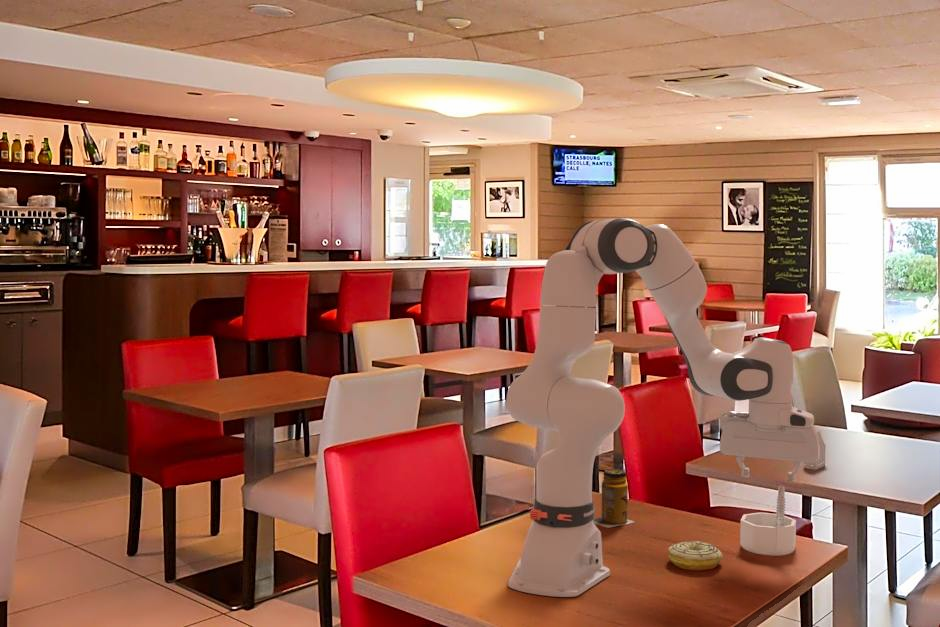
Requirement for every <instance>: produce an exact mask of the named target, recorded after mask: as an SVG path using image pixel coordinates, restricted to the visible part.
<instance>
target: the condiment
mask: <svg viewBox="0 0 940 627" xmlns="http://www.w3.org/2000/svg"><path fill="white" fill-rule="evenodd" d="M602 480H603V481H602V483H601V516H599V517H594V519H593V522H594V524H595V525H598V526H601V527H602V528H603V527H604V528H607V529H609V528H610V529H611V528H613V527H617V526H619V527H620V526H625V525H630V524H633V523H635V521H634V520H631V519H628V506H629V505H628V497H629V496H628V495H629V494H628V490H629V487H628V486H629V485H628V482H627V472H626V471H625V470H623V469H619V468H617V469H616V468H615V469H614V468H613V469H612V468H611V469H606V470H603V479H602Z"/></svg>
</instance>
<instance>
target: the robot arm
mask: <svg viewBox="0 0 940 627" xmlns="http://www.w3.org/2000/svg"><path fill="white" fill-rule="evenodd" d="M634 271H635V272H636V273H637V274H638V276H639V277H640V278H641V279H642V281H643V284H644V285H645V287H646V289H647V290H648V291H649V294H651V296H652V298H653V299H654V301H655V303H656V305H657V306H658V308H659V309H660V311H661V313H662V316H663V318H664V320H665V322H666V324H667V326H668V328H669V330H670V331H671V333H672V336H673V337H674V339H675V342H676V344H677V345H678V347H679V349H680V351H681V353H682V356H683V357H684V359H685V363H686V367H687V375H688V379H689V380H690V383H691V386H692V387H693V388H694V390H696V391H697V392H698V393H700V394H701V395H705V396H709V397H710V396H711V397H719V398H722V399H726V400H731V401H736V402H738V401H740V402H742V401H745V400H747V401H748V411H745V412H742V411H741V412H740V411H737V412H735V411H731V410H730V411H727V412H725V413H722V414H721V416H720V418H719V428H720V430H721V435H720V440H719V441H720V442H719V451H720V452H721V453H722V455H728V456H736V460H735V461H736V463H737V464H738V466H739V468H740V469H741V473H740V474H741V477H742V478H749V477H750V467H746V465H745V463H744V460H745V457H750V458H759V459H760V458H761V459H771V460H780V461H781V460H784V461H793V466H794V467H795V468H794V469H793V471H788V472H787V482H793V483H795V482H796V479H797V478H796V474H797V473H798V471H799V470H800V468H801V466H802V463H804V462H813V463H814V462H816V461H817V460H818V459H819V456H820V448H819V438H818V433H817V432H818V430H817V428H816V427H815V426H814V423H815V416H814V415H813V413H810V412H808V411H806V410H802V409H800V408H797V407H795V406H793V395H792V386H793V383H794V358H793V350H792V348H791V346H790V344H788V343H787V342H786V341H783V340H778V339H773V338H768V337H762V336H761V337H756V338H754V339H753V341H752V342H750V343H748V345H746V346H745V347H743V348H742V349H740V350H737V351H734V352H733V353H730V352H725V351H723V350H721V349H719V348H717V347H716V346H714V344H712V343H711V341H710V339H709V337H708V335H707V333H706V331H705V330H704V328H703V325H702V323H701V321H700V319H699V318H698V314H697V309H698V308H699V307H700V306H701V305H702V304H703V302H704V300H705V298H706V295H707V292H708V286H707V282H706V279H705V276H704V275H703V274H704V273H703V272H702V270H701V268H700V267H699V265H698V263H697V262H696V260H695V259H694V257H693V255H692V254H691V253H690V250H688V248H687V247H686V245H685V244H684V242H682V240H681V239H680V238H679V237H678V235H677V234H676V233H675V231H673V230H672V229H671V228H670V227H669V226H667V225H665V224H663V223H662V224H661V223H655V224H649V225H646V226H644V225H643V224H641V223H640V222H639V221H636V220H634V219H631V218H626V217H620V218H619V217H618V218H612V217H605V218H600V219H596V220H592V221H588V222H586V223H584V224H582V225H581V226H579V227H578V228H577V229H575V231H574V233H573V234H572V236H571V238H570V240H569V243H568V245H567V246H566V248H565V249H564V250H561V251H560V250H559V251H558V252H555V253H553V254H552V255H551V256H550V257H549V258H548V259H547V261H546V264H545V268H544V271H543V278H542V282H541V284H542V285H541V289H540V300H539V304H540V305H539V322H538V323H539V324H538V334H537V341H536V347H535V350H534V354H533V355H532V358H531V360H530V361H529V364H528V365H527V367H526V368H525V369H524V371H523V372H522V373H520V375H519V376H517V377H516V378H515V379H514V380H513V381H512V382H511V383H510V386H508V390H507V393H506V400H505V402H506V406H507V411H508V413H509V416H511V418H513V419H514V420H515V421H517V422H520V423H522V424H523V425H525V426H526V425H527V426H529V427H531V428H535V429H542V430H543V429H544V430H548V431H549V430H550V431H555V432H557V433H558V434H557V436H558V437H557V442H556V444H555V447H554V448H553V449H552V448H551V449H549V450H548V451H547V452H545V453H543V454H542V455H541V456H540V458H539V459H538V461H537V463H536V468H535V470H536V471H535V473H536V479H535V480H536V481H535V482H536V484H535V486H536V488H535V489H536V490H535V491H536V493H535V494H536V497H535V499H534V502H533V506H532V508H531V509H530V512H529V519H530V520H532V522H530V524H529V525H530V526H529V529H528V532H527V534H526V538H525V541H524V543H523V547H522V550H521V552H520V558H519V560H518V561H517V564H516V566H515V568H514V570H513V572H512V574H511V575H510V578H509V580H508V586H507V587H509V588H510V589H513V590H516V591H519V592H523V593H526V594H527V593H528V594H533V595H539V596H545V597H546V596H547V597H555V598H556V597H558V598H559V597H560V598H561V597H562V598H571V597H573V598H574V597H578V596H579V595H581V594H583V593H584V592H586V591H587V590H589V589H590V588H592V587H593V586H595V585H597V584H598V583H600V582H601V581H603V580H605V579H606V578H607V577H609V576H610V575H611V571H610V570H611V569H610V568H609V567H607V566H604V565H603V562H604V561H603V545H602V544H603V543H602V532H601V531H600V529H599V528H598V526H596V524H595V523H594V522H593V519H595V511H596V510H595V508H596V507H595V502H594V499H593V496H592V494H593V492H592V491H593V475H594V474H593V473H594V463H595V459H596V456H597V452H598V450H599V449H600V447H601V446H602V443H603V442H604V441H605V440H606V439H607V438H608V437H609V436H610V435H612V434H613V433H615V432H616V431H617V430H618V429H619V427H620V426H621V424H622V422H623V420H624V417H625V412H626V411H625V410H626V407H625V406H626V405H625V404H626V403H625V400H624V397H623V395H622V392H621V391H620V390H619V389H618V387H616V386H614V385H611V384H609V383H606V382H603V381H601V380H597V379H594V378H593V379H592V378H584V377H574V376H573V377H572V376H571V374H572V369H573V366H574V364H575V362H576V361H577V359H580V358H581V357H583V356H585V355H586V354H588V353H589V352H590V351H591V350H592V349H593V347H594V345H595V342H596V339H595V338H596V318H597V308H596V307H597V289H598V285H599V283H600V280H601V278H602V277H603V275H617V274H627V273H631V272H634Z"/></svg>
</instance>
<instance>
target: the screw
mask: <svg viewBox="0 0 940 627" xmlns="http://www.w3.org/2000/svg"><path fill="white" fill-rule="evenodd" d="M777 491H778V492H777V498H776V510H775V512H776V513H775V514H777V516H776V521H775V522H776V524H775V525H776V527H780V526H784V519H785V518H784V516H786V515H785V514H786V512H785V511H786V509H785V508H786V498H785V491H786V487H785V486H783V485H782V484H781V485H780V486H778V489H777Z"/></svg>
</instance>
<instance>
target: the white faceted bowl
mask: <svg viewBox="0 0 940 627" xmlns="http://www.w3.org/2000/svg"><path fill="white" fill-rule="evenodd" d="M776 516H777V514H776V513H769V512H759V511H758V512H754V513H753V512H751V513H744V514H742V517H741V519H740V526H739V527H740V529H739V530H740V535H739V537H740V538H739V544H740V545H741V548H742V549H743V550H745V551H747V552H749V553H752V554H754V555H755V554H756V555H760V556H761V555H762V556H770V557H771V556H772V557H775V556H777V557H779V556H788V555H791V554H793V553H795V549H796V548H795V547H796V541H797V540H796V538H797V537H796V535H797V520H796V519H795V518H792V517H789V516H786V515H785V516H784V518H785V519H784V526H780V527H776V525H775V524H776V522H775V521H776Z"/></svg>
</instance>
